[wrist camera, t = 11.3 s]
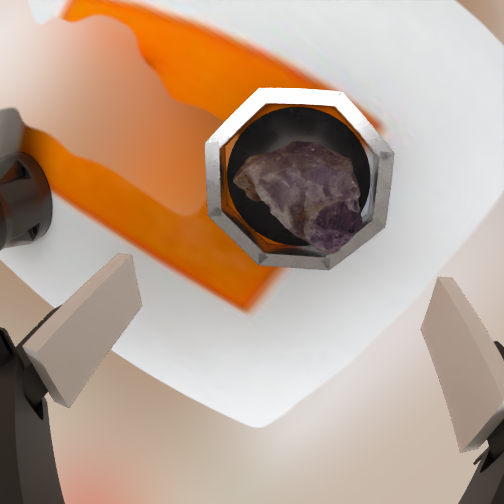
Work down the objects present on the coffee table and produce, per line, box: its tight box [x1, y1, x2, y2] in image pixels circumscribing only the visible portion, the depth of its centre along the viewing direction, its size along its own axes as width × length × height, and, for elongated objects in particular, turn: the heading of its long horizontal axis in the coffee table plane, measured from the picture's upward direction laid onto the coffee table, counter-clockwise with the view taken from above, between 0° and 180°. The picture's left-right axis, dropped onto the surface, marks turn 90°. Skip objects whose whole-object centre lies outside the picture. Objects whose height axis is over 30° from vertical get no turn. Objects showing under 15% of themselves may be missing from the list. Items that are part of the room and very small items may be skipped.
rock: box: [233, 141, 363, 254], centre depth 28 cm, size 12×9×10 cm
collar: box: [205, 88, 394, 270], centre depth 31 cm, size 19×19×2 cm
